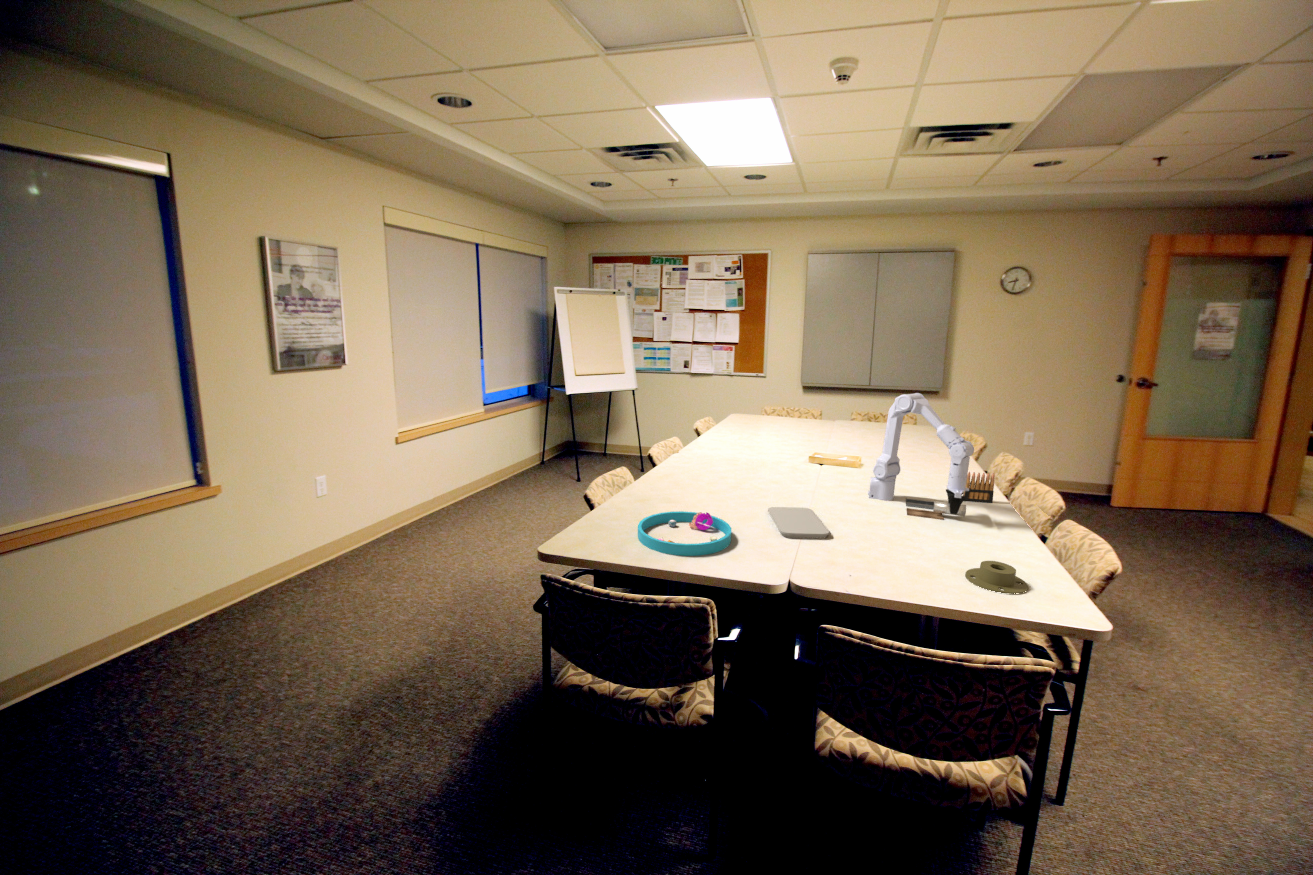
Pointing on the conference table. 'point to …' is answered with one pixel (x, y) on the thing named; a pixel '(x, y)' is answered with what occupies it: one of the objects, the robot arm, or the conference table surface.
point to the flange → (996, 577)
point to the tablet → (798, 522)
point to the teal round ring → (698, 522)
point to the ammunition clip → (979, 489)
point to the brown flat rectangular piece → (924, 514)
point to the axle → (947, 508)
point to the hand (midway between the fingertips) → (952, 511)
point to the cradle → (919, 503)
